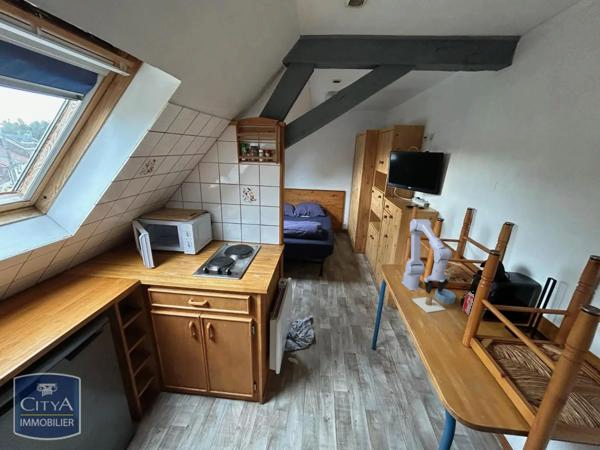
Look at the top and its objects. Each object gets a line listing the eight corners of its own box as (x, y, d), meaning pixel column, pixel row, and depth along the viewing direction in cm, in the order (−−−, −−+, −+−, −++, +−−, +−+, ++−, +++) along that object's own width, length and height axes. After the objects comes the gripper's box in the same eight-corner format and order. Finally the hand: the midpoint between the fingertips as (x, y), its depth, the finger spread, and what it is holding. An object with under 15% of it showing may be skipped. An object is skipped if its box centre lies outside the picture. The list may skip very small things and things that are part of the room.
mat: (410, 299, 142) (410, 299, 141) (429, 297, 145) (429, 296, 145) (426, 314, 130) (426, 313, 129) (446, 311, 133) (446, 310, 133)
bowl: (430, 295, 147) (432, 289, 146) (444, 293, 149) (445, 287, 148) (443, 305, 138) (445, 299, 136) (458, 303, 140) (459, 297, 139)
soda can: (479, 319, 127) (485, 299, 124) (464, 316, 129) (470, 297, 125) (473, 310, 134) (479, 291, 130) (459, 308, 135) (464, 289, 132)
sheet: (411, 299, 141) (413, 293, 140) (429, 297, 144) (430, 290, 143) (426, 312, 130) (428, 305, 129) (445, 309, 133) (447, 302, 132)
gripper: (433, 274, 124) (428, 297, 128) (456, 272, 127) (450, 294, 132) (423, 268, 130) (418, 290, 134) (445, 265, 134) (440, 287, 138)
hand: (433, 291), depth 133 cm, fingers open, 7 cm apart
